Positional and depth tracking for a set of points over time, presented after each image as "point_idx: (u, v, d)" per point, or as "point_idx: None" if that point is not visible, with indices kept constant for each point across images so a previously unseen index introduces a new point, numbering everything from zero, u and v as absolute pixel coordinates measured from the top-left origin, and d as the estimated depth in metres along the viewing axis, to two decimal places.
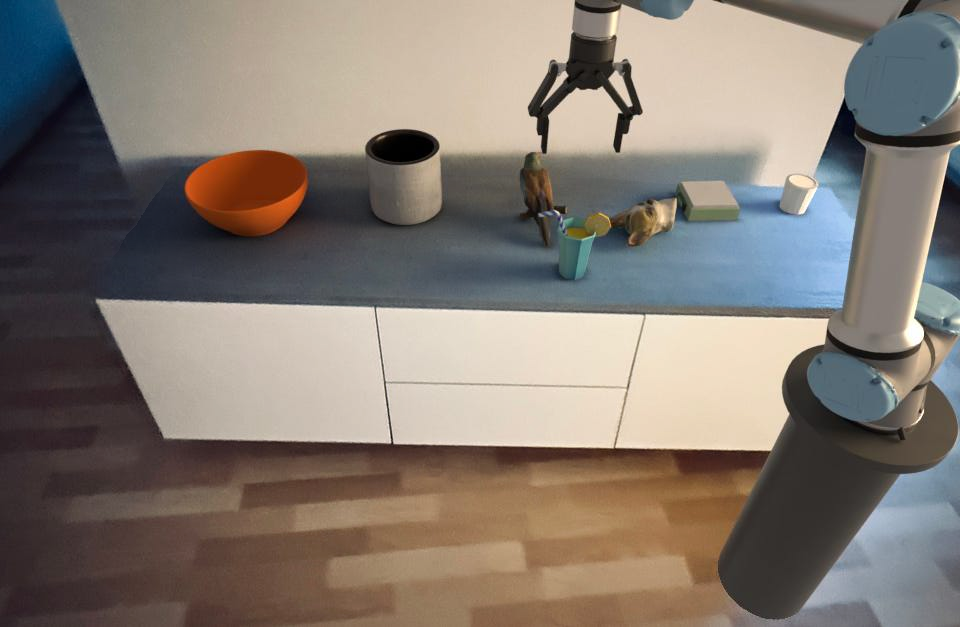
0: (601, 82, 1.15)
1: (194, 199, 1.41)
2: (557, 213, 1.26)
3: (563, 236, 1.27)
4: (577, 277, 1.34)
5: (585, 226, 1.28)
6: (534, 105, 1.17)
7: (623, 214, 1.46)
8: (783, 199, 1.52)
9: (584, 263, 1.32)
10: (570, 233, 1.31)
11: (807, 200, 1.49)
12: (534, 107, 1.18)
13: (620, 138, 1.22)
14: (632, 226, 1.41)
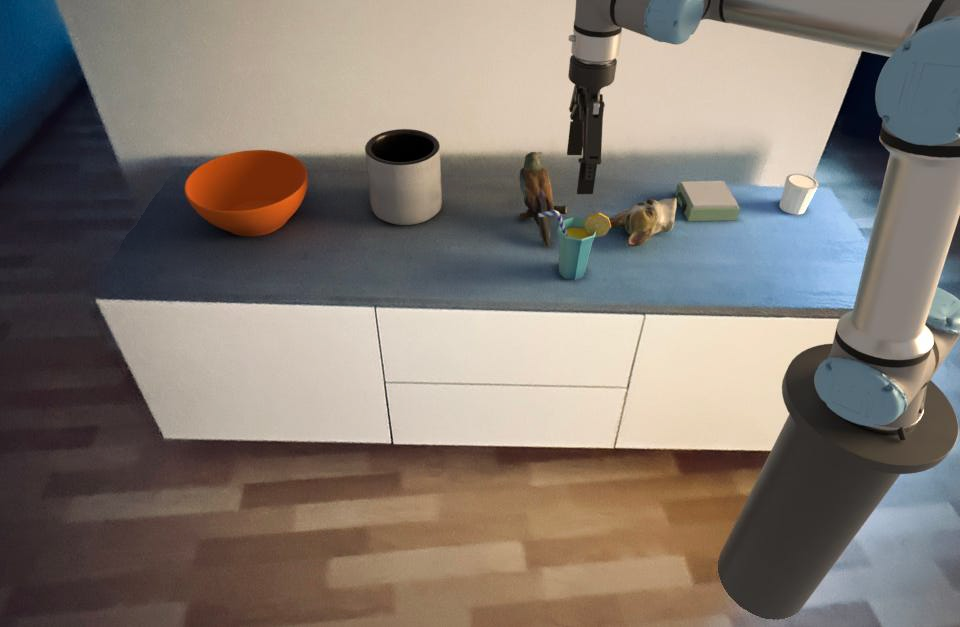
0: None
1: (194, 199, 1.41)
2: (557, 213, 1.26)
3: (563, 236, 1.27)
4: (577, 277, 1.34)
5: (585, 226, 1.28)
6: None
7: (623, 214, 1.46)
8: (783, 199, 1.52)
9: (584, 263, 1.32)
10: (570, 233, 1.31)
11: (807, 200, 1.49)
12: (600, 153, 1.09)
13: (583, 140, 1.25)
14: (632, 226, 1.41)
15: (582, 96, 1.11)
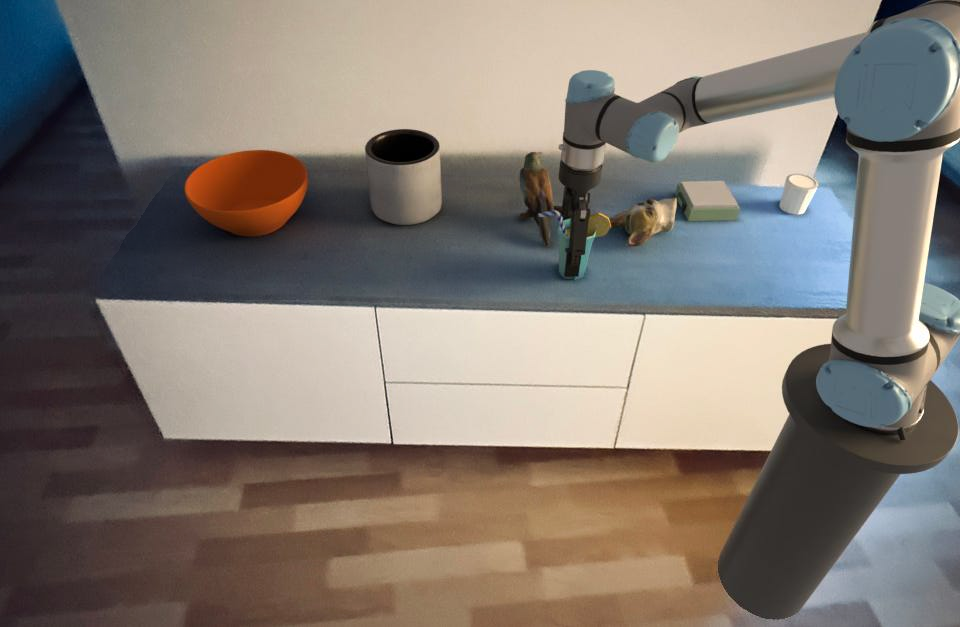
0: None
1: (194, 199, 1.41)
2: (557, 213, 1.26)
3: (563, 236, 1.27)
4: (577, 277, 1.34)
5: None
6: (585, 246, 1.23)
7: (623, 214, 1.46)
8: (783, 199, 1.52)
9: (584, 263, 1.32)
10: None
11: (807, 200, 1.49)
12: (585, 247, 1.24)
13: None
14: (632, 226, 1.41)
15: (571, 196, 1.22)
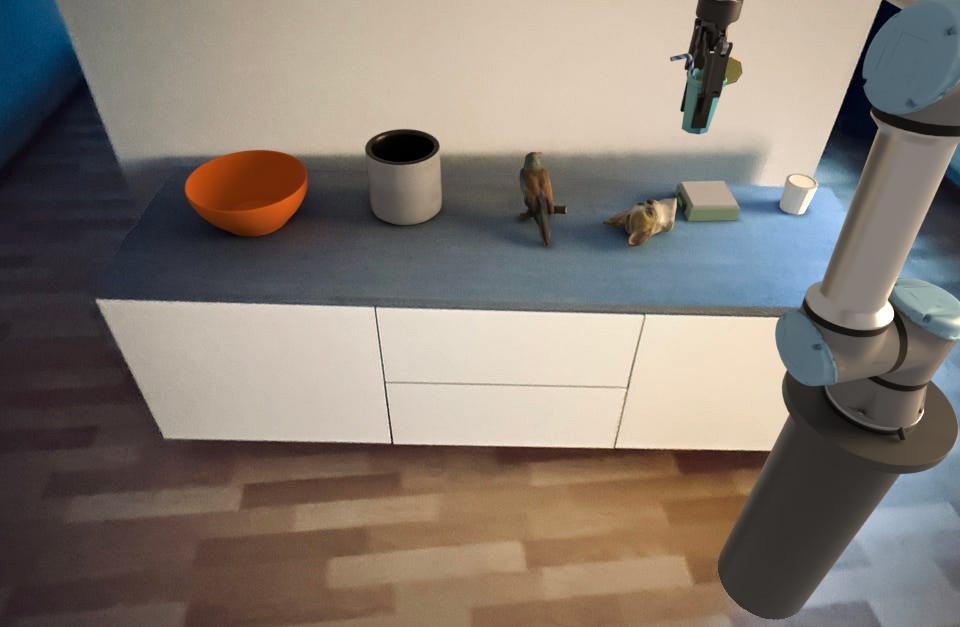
0: None
1: (194, 199, 1.41)
2: (690, 56, 1.23)
3: (694, 82, 1.25)
4: (702, 131, 1.31)
5: None
6: (721, 86, 1.21)
7: (623, 214, 1.46)
8: (783, 199, 1.52)
9: (711, 114, 1.29)
10: None
11: (807, 200, 1.49)
12: (721, 88, 1.21)
13: None
14: (632, 226, 1.41)
15: (709, 34, 1.19)
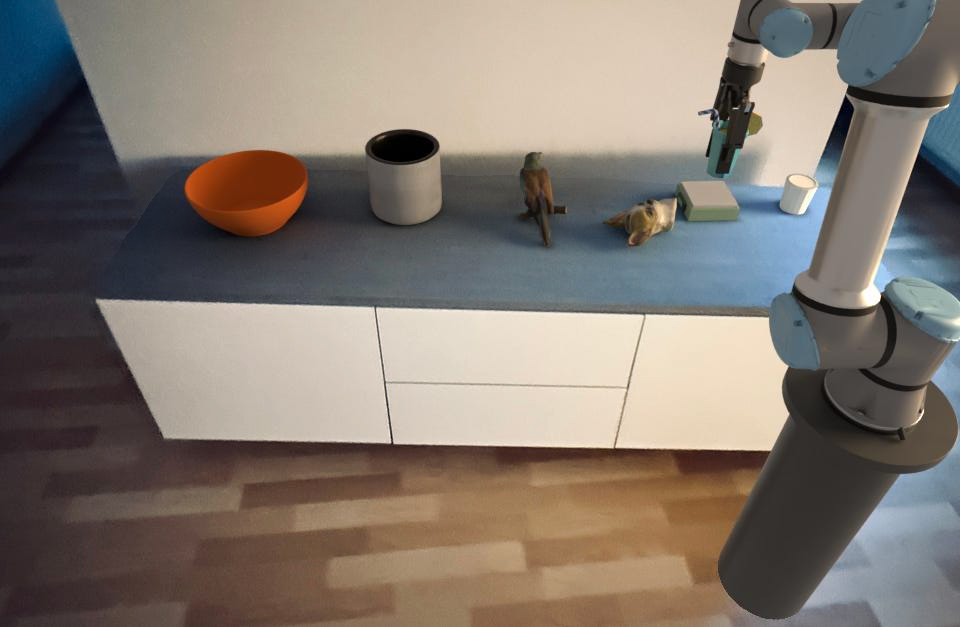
0: None
1: (194, 199, 1.41)
2: (716, 111, 1.38)
3: (719, 134, 1.40)
4: (725, 176, 1.46)
5: None
6: None
7: (623, 214, 1.46)
8: (783, 199, 1.52)
9: (734, 161, 1.44)
10: (721, 133, 1.43)
11: (807, 200, 1.49)
12: (743, 141, 1.36)
13: None
14: (632, 226, 1.41)
15: (733, 93, 1.34)
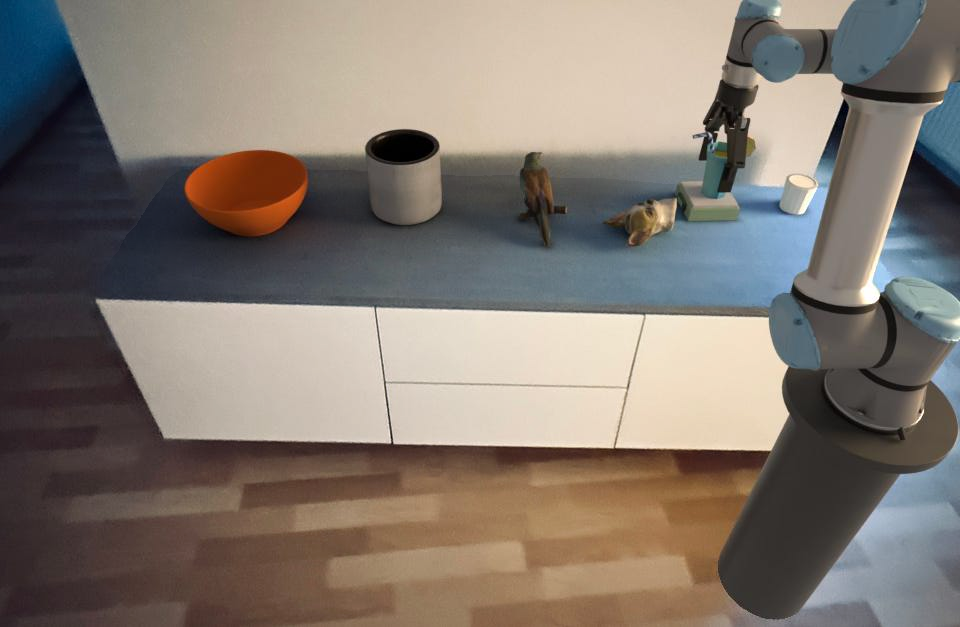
0: None
1: (194, 199, 1.41)
2: (710, 135, 1.41)
3: (713, 156, 1.43)
4: (719, 196, 1.49)
5: None
6: None
7: (623, 214, 1.46)
8: (783, 199, 1.52)
9: None
10: (716, 155, 1.46)
11: (807, 200, 1.49)
12: (744, 159, 1.36)
13: None
14: (632, 226, 1.41)
15: (727, 113, 1.37)
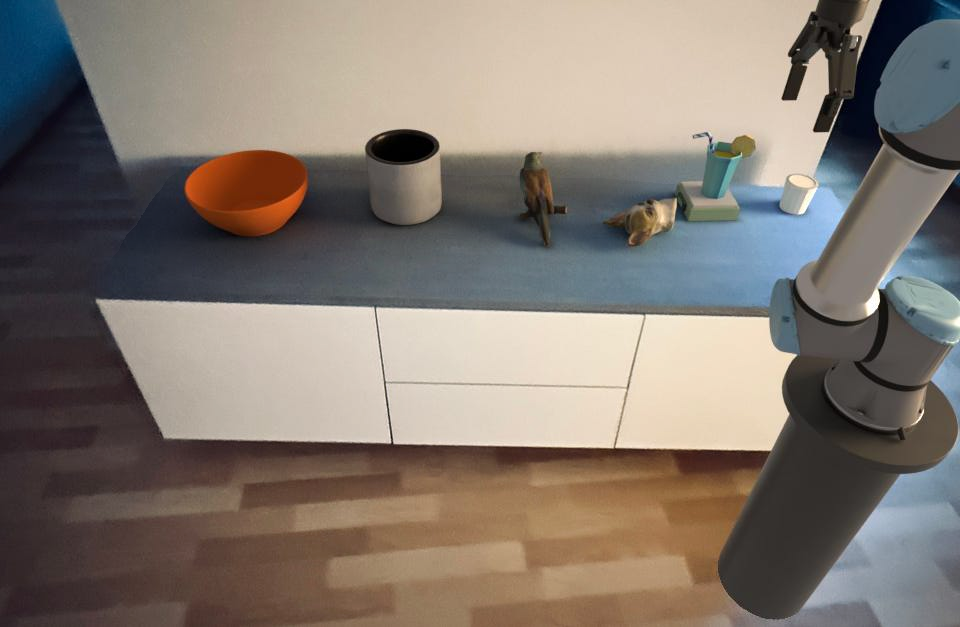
0: None
1: (194, 199, 1.41)
2: (710, 135, 1.41)
3: (713, 156, 1.43)
4: (719, 196, 1.49)
5: (732, 148, 1.44)
6: (853, 85, 1.12)
7: (623, 214, 1.46)
8: (783, 199, 1.52)
9: (727, 183, 1.47)
10: (716, 155, 1.46)
11: (807, 200, 1.49)
12: (853, 87, 1.12)
13: None
14: (632, 226, 1.41)
15: (830, 33, 1.13)
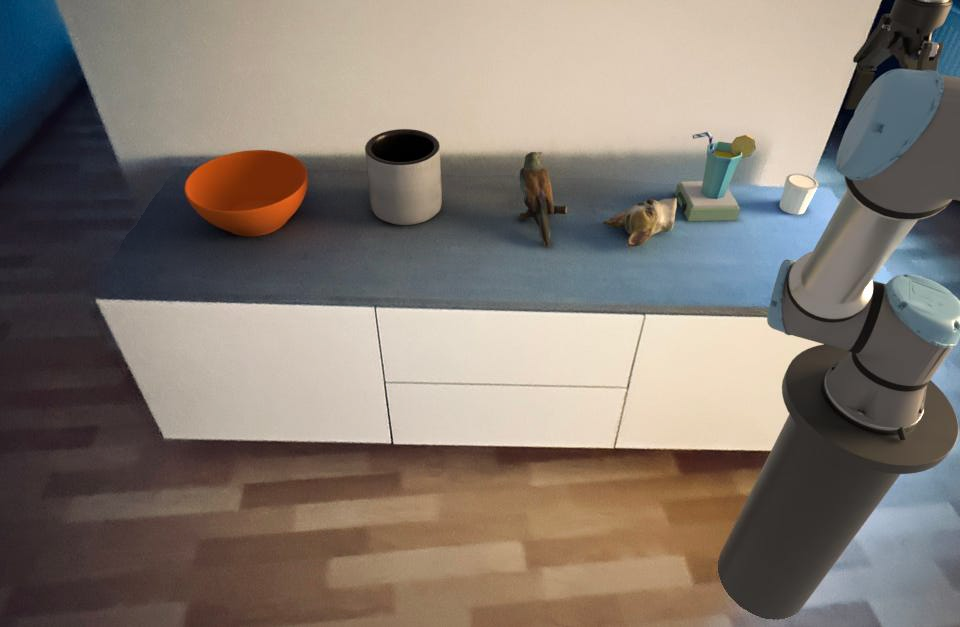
0: None
1: (194, 199, 1.41)
2: (710, 135, 1.41)
3: (713, 156, 1.43)
4: (719, 196, 1.49)
5: (732, 148, 1.44)
6: None
7: (623, 214, 1.46)
8: (783, 199, 1.52)
9: (727, 183, 1.47)
10: (716, 155, 1.46)
11: (807, 200, 1.49)
12: None
13: (865, 92, 1.19)
14: (632, 226, 1.41)
15: (906, 39, 1.04)
